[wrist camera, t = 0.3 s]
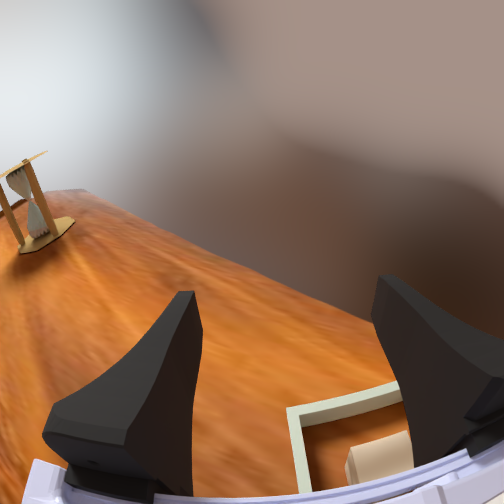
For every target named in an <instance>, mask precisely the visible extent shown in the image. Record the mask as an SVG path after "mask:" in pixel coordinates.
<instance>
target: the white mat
mask: <svg viewBox="0 0 504 504" xmlns="http://www.w3.org/2000/svg"><path fill="white" fill-rule="evenodd" d="M486 504H504V493H502V494H501V495H499V496H497V497H496V498H494V499H493V500H491V501H489V502H487V503H486Z"/></svg>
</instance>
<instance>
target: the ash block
mask: <svg viewBox="0 0 504 504" xmlns="http://www.w3.org/2000/svg"><path fill="white" fill-rule="evenodd" d="M344 468H345V472H346V476H347V481H348V485H349V486H351V485H356V484H360V483H364V482H369V481H373V480H377V479H380V478H384V477H388V476H391V475H395V474H398V473H401V472H405V471H408V470H411V469H414V462H413V452H412V444H411V441H410V438H409V435H408V433H407V430H405V431H403V432H400V433H397V434H394V435H391V436H388V437H385V438H382V439H378V440H375V441H372V442H368V443H365V444H361V445H358V446H354V447H351V448H350V451H349V455H348V458H347V461H346V464H345V467H344ZM403 494H404V493H403ZM400 495H402V494H400ZM397 496H399V495H397ZM393 497H396V496H393ZM393 497H390V498H386V499H383V500H379V501H376V502H372V503H368V504H375V503H378V502H382V501H385V500H388V499H391V498H393Z"/></svg>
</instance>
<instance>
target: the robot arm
mask: <svg viewBox="0 0 504 504" xmlns="http://www.w3.org/2000/svg"><path fill="white" fill-rule="evenodd" d="M371 317H372V320H373V324H374V327H375V330H376V334H377V336H378V339H379V341H380V343H381V346H382V348H383V350H384V352H385V355H386V357H387V359H388V361H389V363H390V366H391V368H392V370H393V373H394V375H395V377H396V380H397V383H398V385H399V388H400V392H401V396H402V399H403V403H404V407H405V411H406V416H407V420H408V425H409V431H410V437H411V443H412V452H413V462H414V469H411V470H408V471H405V472H401V473H398V474H395V475H391V476H388V477H384V478H380V479H377V480H373V481H369V482H364V483H360V484H356V485H351V486H346V487H341V488H336V489H330V490H324V491H318V492H311V493H303V494H295V495H285V496H273V497H256V498H203V497H193V482H192V414H193V402H194V395H195V389H196V383H197V378H198V372H199V366H200V360H201V354H202V338H203V328H202V324H201V320H200V315H199V311H198V306H197V302H196V297H195V293H194V291H179V292H178V293H177V294H176V295H175V297H174V298H173V299H172V301H171V302H170V303H169V305H168V306H167V307H166V309H165V310H164V311H163V313H162V314H161V315H160V317H159V318H158V319H157V320H156V322H155V323H154V324H153V325H152V327H151V328H150V329H149V330H148V331H147V333H146V334H145V335H144V336H143V337H142V338H141V339H140V341H139V342H138V343H137V344H136V345H135V346H134V347H133V348H132V349H131V350H130V351H129V352H128V353H127V354H126V355H125V356H124V357H123V358H122V359H121V360H119V361H118V362H117V363H116V364H115V365H113V366H112V367H111V368H110V369H108V370H107V371H106V372H105V373H103V374H102V375H101V376H99V377H98V378H97V379H95V380H94V381H92V382H91V383H89V384H88V385H86V386H85V387H83V388H82V389H80V390H78V391H77V392H75V393H73V394H71V395H69V396H67V397H66V398H64V399H62V400H60V401H58V402H56V403H54V404H53V407H52V409H51V412H50V414H49V417H48V419H47V422H46V425H45V427H44V430H43V433H42V437H43V439H44V441H45V443H46V444H47V445H48V446H49V447H50V448H51V449H52V450H53V451H55V452H56V453H57V454H58V455H59V456H60V457H62V458H63V459H64V460H65V461H67V462H68V463H69V464H68V468H67V470H65V469H64V468H61V467H59V466H56V465H53V464H50V463H47V462H44V461H41V460H38V459H34V461H33V465H32V468H31V471H30V474H29V478H28V481H27V485H26V488H25V492H24V496H23V500H22V504H368V503H372V502H376V501H379V500H383V499H386V498H390V497H393V496H397V495H400V494H403V493H406V492H409V491H412V490H414V491H413V492H411V493H408V494H405V495H402V496H399V497H396V498H392V499H389V500H385V501H382V502H378V503H375V504H486V503H487V502H489V501H491V500H493V499H494V498H496V497H497V496H499V495H501V494H502V493H504V340H501V339H499V338H496V337H494V336H491V335H489V334H487V333H484V332H482V331H480V330H478V329H476V328H473V327H471V326H469V325H468V324H466V323H464V322H462V321H460V320H458V319H457V318H455V317H454V316H452V315H450V314H449V313H447V312H446V311H444V310H443V309H441V308H440V307H438V306H437V305H435V304H433V303H432V302H431V301H429V300H428V299H427V298H425V297H424V296H422V295H421V294H420V293H418V292H417V291H416V290H414V289H413V288H411V287H410V286H408V285H407V284H406V283H405V282H403V281H402V280H400V279H399V278H397V277H396V276H394V275H392V274H390V275H381V276H379V277H378V282H377V288H376V293H375V298H374V303H373V307H372V312H371Z"/></svg>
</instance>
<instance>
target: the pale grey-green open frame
mask: <svg viewBox="0 0 504 504" xmlns="http://www.w3.org/2000/svg"><path fill="white" fill-rule="evenodd" d="M401 401H403V399H402V396H401V392H400V388H399V385H398V383H397V381H394V382H391V383H388V384H385V385H381V386H378V387H375V388H371V389H367V390H364V391H360V392H356V393H353V394H349V395H345V396H341V397H336V398H332V399H328V400H323V401H319V402H314V403H309V404H304V405H299V406H294V407H288V408H286V411H287V417H288V423H289V430H290V436H291V443H292V449H293V455H294V462H295V468H296V475H297V481H298V488H299V494H303V493H311V492H312V487H311V482H310V476H309V470H308V464H307V459H306V453H305V447H304V442H303V436H302V431H301V427H306V426H311V425H316V424H321V423H325V422H330V421H334V420H338V419H342V418H346V417H350V416H354V415H358V414H362V413H365V412H369V411H372V410H375V409H379V408H382V407H385V406H389V405H392V404H395V403H398V402H401Z"/></svg>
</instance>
